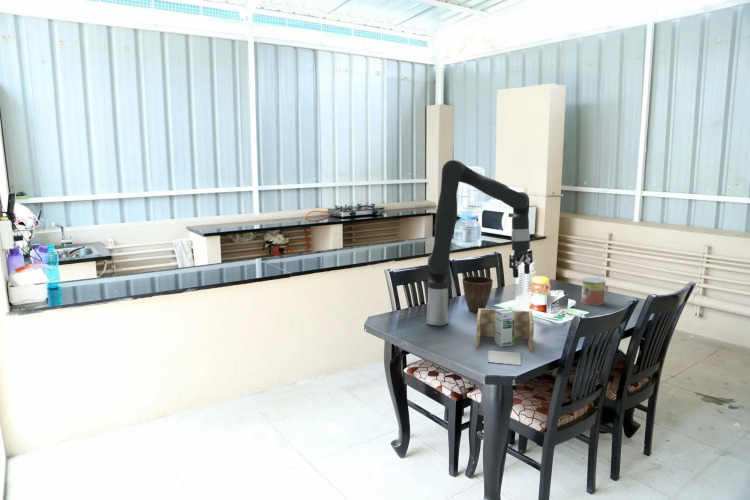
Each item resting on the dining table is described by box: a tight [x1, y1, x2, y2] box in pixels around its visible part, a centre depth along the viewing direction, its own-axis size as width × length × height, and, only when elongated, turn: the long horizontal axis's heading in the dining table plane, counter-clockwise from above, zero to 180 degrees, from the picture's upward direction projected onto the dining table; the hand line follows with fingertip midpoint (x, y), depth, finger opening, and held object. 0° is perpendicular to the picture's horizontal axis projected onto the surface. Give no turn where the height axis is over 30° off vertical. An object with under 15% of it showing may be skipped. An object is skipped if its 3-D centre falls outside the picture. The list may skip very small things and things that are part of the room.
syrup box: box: [494, 308, 515, 348], centre depth 215 cm, size 6×6×14 cm
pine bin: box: [475, 308, 535, 353], centre depth 216 cm, size 22×16×12 cm
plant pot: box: [461, 275, 494, 313], centre depth 262 cm, size 15×15×16 cm
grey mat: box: [487, 350, 522, 367], centre depth 201 cm, size 12×12×1 cm
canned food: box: [580, 277, 606, 306], centre depth 276 cm, size 11×11×12 cm
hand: (521, 275), depth 228 cm, fingers open, 8 cm apart
